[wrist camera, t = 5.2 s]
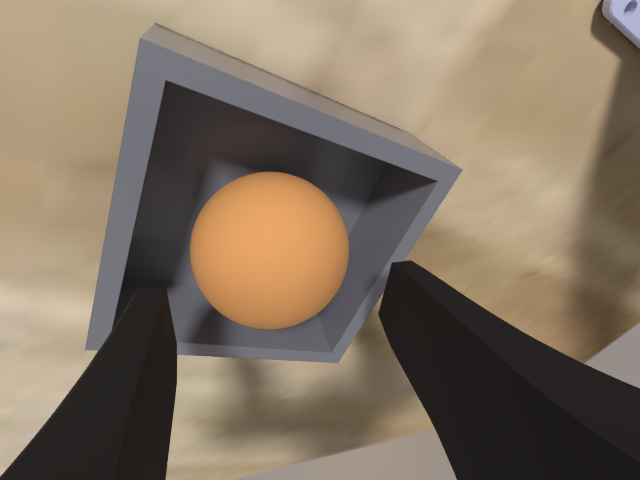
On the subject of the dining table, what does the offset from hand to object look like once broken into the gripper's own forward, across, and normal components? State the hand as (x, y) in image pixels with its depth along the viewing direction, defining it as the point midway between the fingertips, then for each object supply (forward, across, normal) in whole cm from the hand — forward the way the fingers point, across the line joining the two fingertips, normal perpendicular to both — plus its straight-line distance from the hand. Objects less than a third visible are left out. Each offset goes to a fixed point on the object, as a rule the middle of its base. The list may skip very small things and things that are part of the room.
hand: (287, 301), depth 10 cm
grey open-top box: (+5, 0, 0) cm, 5 cm away
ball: (+5, 0, 0) cm, 5 cm away
